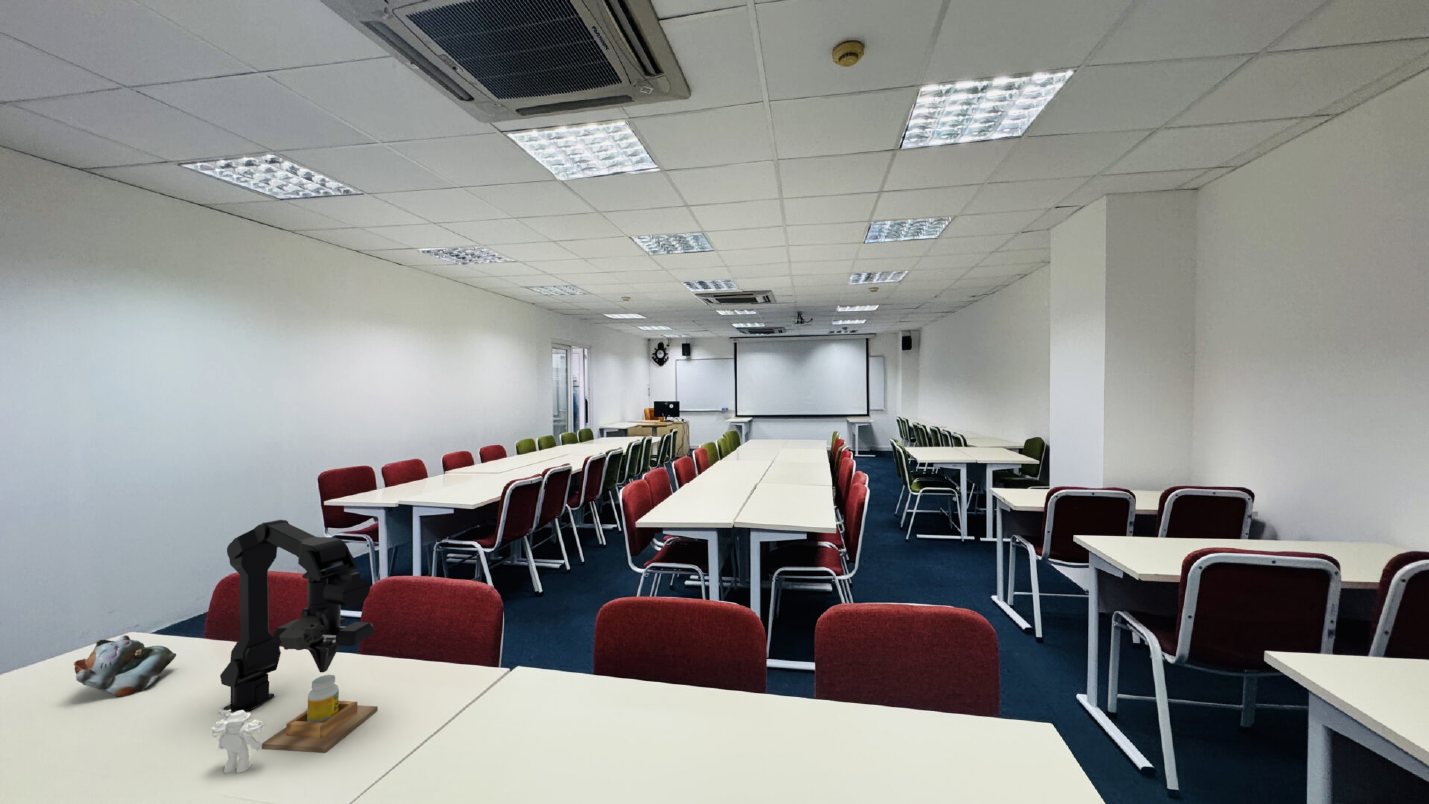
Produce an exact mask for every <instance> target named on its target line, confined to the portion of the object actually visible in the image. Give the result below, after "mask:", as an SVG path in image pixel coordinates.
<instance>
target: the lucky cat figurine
mask: <svg viewBox="0 0 1429 804" xmlns="http://www.w3.org/2000/svg"><path fill="white" fill-rule="evenodd" d="M95 643H96V644H95V646H94V648H93V650H92V651H91V652H90V654H89V655H88V657H87V658H86V657H84V658H82V659H77V660H76V661H74V662H73V665H74V673H75V676H76V677H75V680H76V681H77V682H79V683H80V684H82V685H83V686H86V687H90V688H93V689H98V690H100V691H102V692H103V691H104V692H108V693H110V694H112V695H113V696H115V697H121V698H123V697H127V696H130V695H134V694H137V693H140V692H142V691H143V690H144V689H147V688H148V687H149V686H150V685H151V684H153V683H155V681H156V680H157V679H158V677H159V676H160V674H162V672H163V671H164V670H165V669H166V668H167V667H168V666H169V665H170V664H171V663H172V661H174V659H175V658H176V656H177V653H175V652H173V650H172V651H171V650H170V648H168V647H166V646H163V645H152V646H147V647H146V646H145V644H144V642H141V641H140V640H138V639H131V637H130V636H129V635H127V634H124V635H121V636H119V637H118V639H117V640H108V639H99V640H97V641H96V642H95Z"/></svg>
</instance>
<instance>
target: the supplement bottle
mask: <svg viewBox="0 0 1429 804" xmlns="http://www.w3.org/2000/svg"><path fill="white" fill-rule="evenodd" d="M339 692H340V688H339V685H338V684H337V683H336V675H335V674H325V675H321V676H318V677H317V678H315V679H313V680H312V681H311V691H310V692H308V695H307V709H308V710H307V709H306V710H307V722H320V723H325V722H326V721H327V720H329V719H330V718H331V717H333V716H334V715H336V714H337V713H338V703H339V701H340V700H339V699H340V697H339V695H340V693H339Z"/></svg>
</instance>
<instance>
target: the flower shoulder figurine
mask: <svg viewBox="0 0 1429 804" xmlns="http://www.w3.org/2000/svg"><path fill="white" fill-rule="evenodd" d="M217 711H218V714H220V715H221V716H223V715H225V717H222V719H221V720H219V721H216V722H215V725H214V726H212V727H211V735H212V737H213V738H217V737H218V736H219V735H220V736H219V738H218V749H219V750H225V751H227V761H226V763H225V767H224V770H223V772H224V773H225V774H229V773H232V772H234V771H236V773H243V772H245V771H247V770H249V769H250V768H251V767H252V766H253V761H252V760H250V759H249V758H250V755H249V747H248V745H249V746H250V747H251V748H252V749H254V750H255V751H256V752H258V750H260V749H262V743H263V742H262V741H259V740H257V739H256V738H255V737H254V736H253V733H256V734H261V733H263V731H264V727H265V725H264V724H265V722H264V721H261V720H258V719H259V717H257V719H253V720H252V721H250V716H251V715H252V713H251V712H245V711H244V710H240V711H233V713H232V711H231V710H227V711H226V710H223V708H221V709H218V710H217ZM228 716H229V717H228ZM226 717H228V718H227V719H226ZM220 733H221V734H220ZM238 758H239V759H238Z"/></svg>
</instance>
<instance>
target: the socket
mask: <svg viewBox="0 0 1429 804" xmlns="http://www.w3.org/2000/svg"><path fill="white" fill-rule="evenodd" d="M307 710H308V708H307V709H306V710H305V711H303V712H302V713H300V714H298V715H297V716H296V717H294V718H293V719H292V720H290V721H288V722H287V723H286V726H285V727H284V728H282V729H281V730H280V731H278V732H277V733H275V734H273V735H272V736H271V737H269V738H268V739H266V740H265V741H263V742H262V746H261V749H262V750H277V751H294V752H308V753H309V752H310V753H321V754H322V753H323V754H326V753H327V752H328V751H330V750H331V749H332V748H333V747H334V746H335V745H337V744H338V743H339V742H341V741H342V740H343V739H345V738H346V737H347V736H348V735H349V734H351V733H352V732H353V731H354V730H356V729H357V728H358V727H359V726H361V725H362V724H363V723H364V722H366V721H367V720H368V719H369V718H370V717H372V716H373V715H374V714H375V713H377V712H378V711H379V710H378V706H374V705H359V704H358V701H349V700H339V703H338V713H337V714H336V715H334V716H333V717H331V718H330V719H329V720H327V721H326V722H325V723H320V722H307Z"/></svg>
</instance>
